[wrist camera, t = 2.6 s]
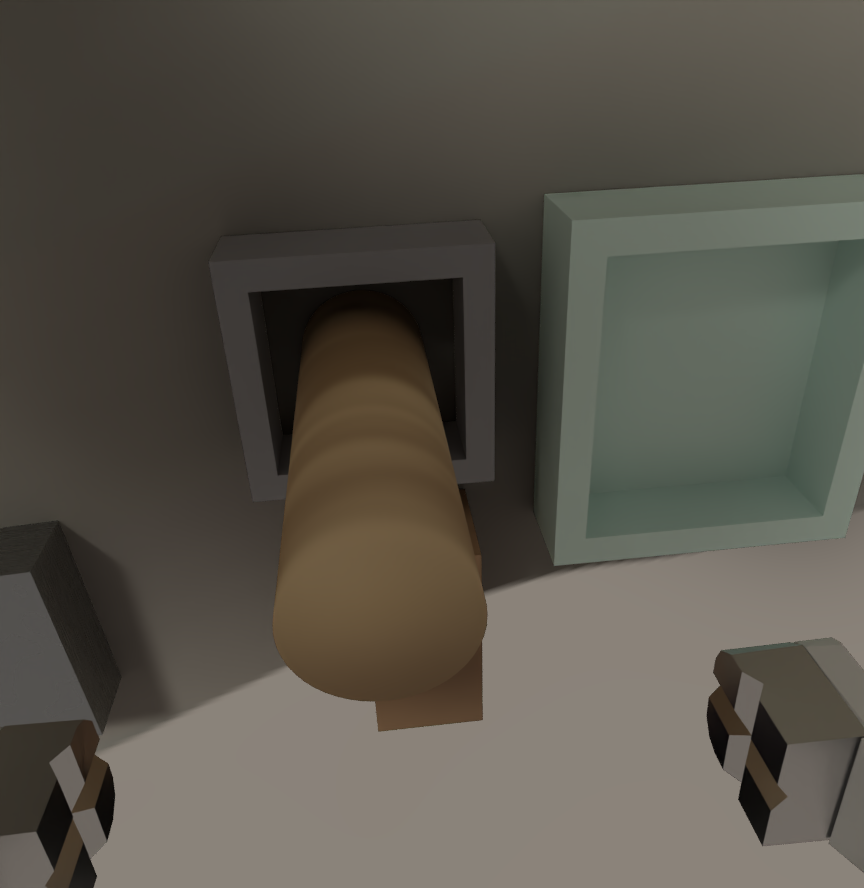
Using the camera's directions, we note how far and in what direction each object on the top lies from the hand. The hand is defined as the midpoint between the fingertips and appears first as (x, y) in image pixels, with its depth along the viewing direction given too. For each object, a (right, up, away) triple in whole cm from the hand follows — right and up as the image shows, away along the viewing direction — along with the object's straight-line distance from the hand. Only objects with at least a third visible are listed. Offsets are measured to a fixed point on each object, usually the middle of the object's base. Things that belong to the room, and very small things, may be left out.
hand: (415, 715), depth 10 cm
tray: (+7, +6, +10) cm, 14 cm away
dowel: (-2, +6, +9) cm, 11 cm away
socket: (-2, +6, +9) cm, 11 cm away
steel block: (-12, -1, +13) cm, 18 cm away
